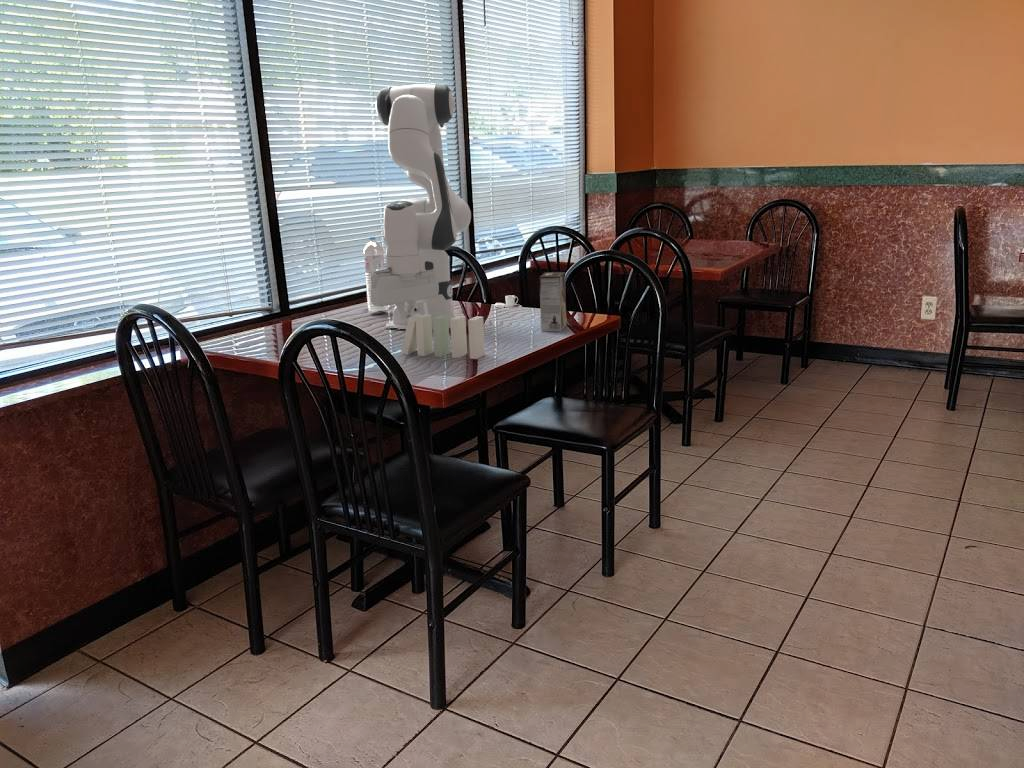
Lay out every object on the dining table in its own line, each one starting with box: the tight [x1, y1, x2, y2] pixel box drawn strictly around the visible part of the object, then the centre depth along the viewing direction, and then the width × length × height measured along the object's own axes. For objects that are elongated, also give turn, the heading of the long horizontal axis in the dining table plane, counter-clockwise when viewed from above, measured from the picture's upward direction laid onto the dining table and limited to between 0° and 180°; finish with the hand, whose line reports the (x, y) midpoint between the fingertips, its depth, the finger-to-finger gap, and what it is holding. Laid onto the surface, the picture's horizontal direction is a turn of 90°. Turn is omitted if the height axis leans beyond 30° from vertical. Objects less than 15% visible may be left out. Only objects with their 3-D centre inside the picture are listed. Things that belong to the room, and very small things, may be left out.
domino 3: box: [432, 315, 451, 358], centre depth 215 cm, size 2×5×10 cm, turn 159°
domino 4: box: [450, 315, 468, 359], centre depth 213 cm, size 2×5×10 cm, turn 159°
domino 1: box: [400, 314, 421, 356], centre depth 218 cm, size 2×5×10 cm, turn 159°
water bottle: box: [362, 236, 389, 313], centre depth 281 cm, size 7×7×25 cm
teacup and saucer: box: [494, 294, 522, 310], centre depth 281 cm, size 9×8×4 cm
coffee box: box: [538, 271, 567, 332], centre depth 242 cm, size 9×6×16 cm
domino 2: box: [416, 314, 434, 357], centre depth 217 cm, size 2×5×10 cm, turn 159°
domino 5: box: [467, 315, 486, 360], centre depth 211 cm, size 2×5×10 cm, turn 159°
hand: (407, 318), depth 217 cm, fingers closed
